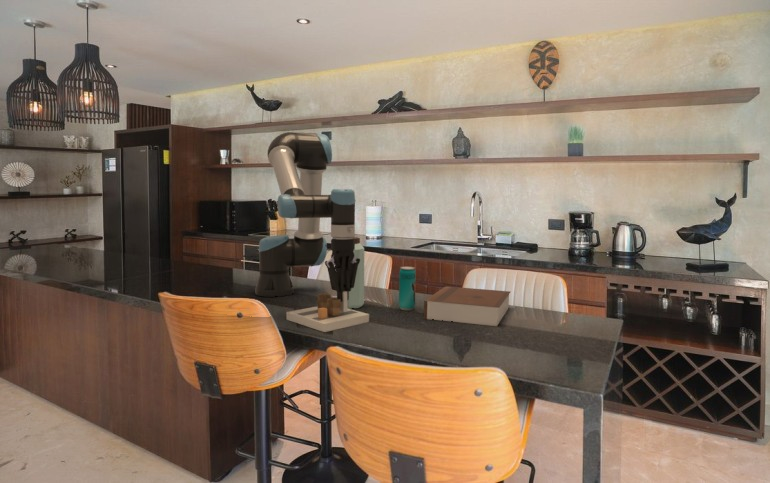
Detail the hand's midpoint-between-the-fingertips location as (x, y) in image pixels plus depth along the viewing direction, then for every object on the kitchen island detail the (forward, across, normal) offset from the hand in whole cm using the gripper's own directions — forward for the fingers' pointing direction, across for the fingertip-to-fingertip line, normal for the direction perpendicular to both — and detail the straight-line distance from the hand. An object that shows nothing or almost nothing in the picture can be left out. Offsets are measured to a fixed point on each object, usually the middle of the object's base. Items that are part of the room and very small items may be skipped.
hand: (342, 311), depth 165 cm
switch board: (+3, -3, +4) cm, 6 cm away
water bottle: (+4, +16, +15) cm, 22 cm away
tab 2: (+1, -4, 0) cm, 4 cm away
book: (+4, +40, -20) cm, 45 cm away
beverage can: (+4, +28, -2) cm, 28 cm away
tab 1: (+1, -1, +8) cm, 8 cm away
